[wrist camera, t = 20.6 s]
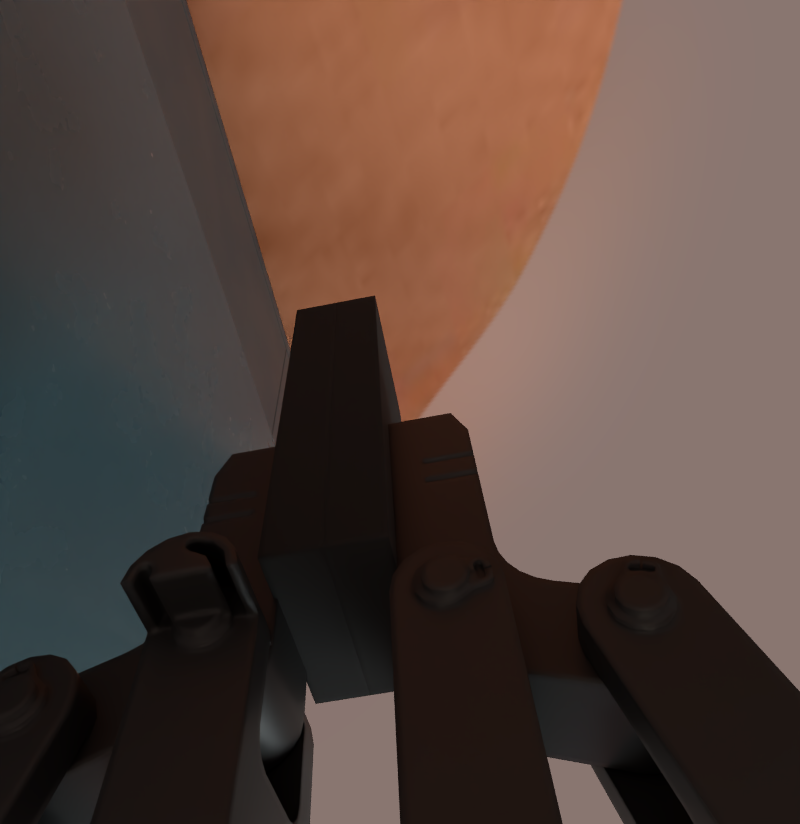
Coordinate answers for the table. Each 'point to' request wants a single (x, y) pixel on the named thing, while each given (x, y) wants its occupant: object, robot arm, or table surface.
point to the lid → (100, 334)
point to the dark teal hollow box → (215, 190)
